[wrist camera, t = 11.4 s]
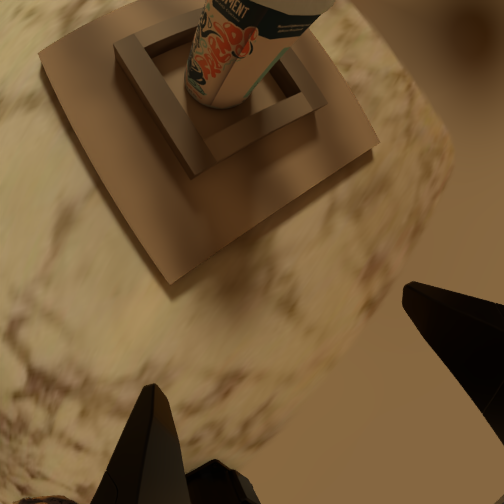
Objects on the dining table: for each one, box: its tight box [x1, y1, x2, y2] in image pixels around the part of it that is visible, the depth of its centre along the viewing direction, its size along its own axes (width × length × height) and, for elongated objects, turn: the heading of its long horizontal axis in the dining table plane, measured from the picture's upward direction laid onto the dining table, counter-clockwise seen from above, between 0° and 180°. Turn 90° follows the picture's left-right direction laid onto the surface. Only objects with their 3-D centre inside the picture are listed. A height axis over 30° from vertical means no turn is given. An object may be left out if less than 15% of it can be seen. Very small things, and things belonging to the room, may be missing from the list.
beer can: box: [184, 0, 335, 109], centre depth 12 cm, size 5×5×12 cm
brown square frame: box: [38, 0, 380, 285], centre depth 18 cm, size 20×20×3 cm
